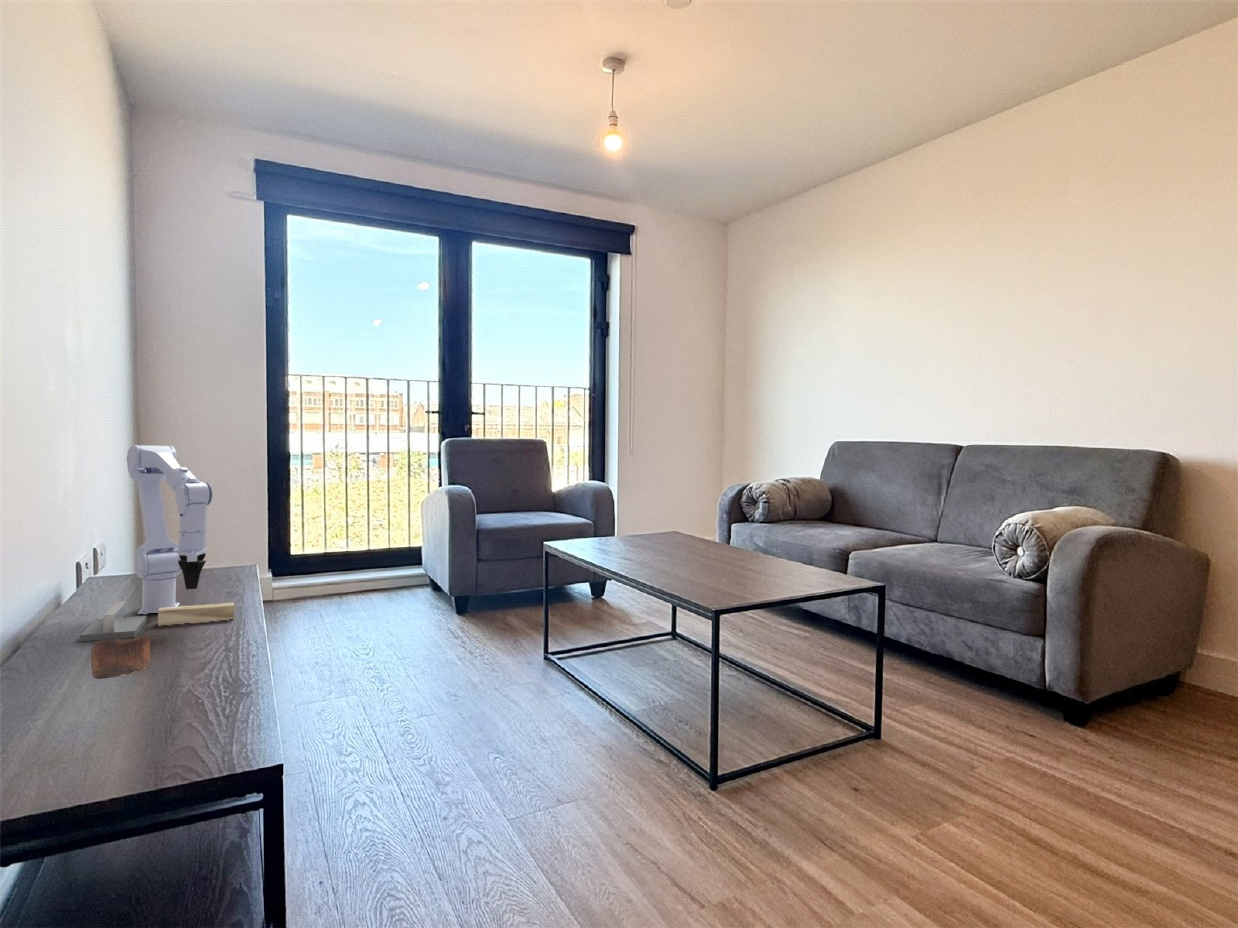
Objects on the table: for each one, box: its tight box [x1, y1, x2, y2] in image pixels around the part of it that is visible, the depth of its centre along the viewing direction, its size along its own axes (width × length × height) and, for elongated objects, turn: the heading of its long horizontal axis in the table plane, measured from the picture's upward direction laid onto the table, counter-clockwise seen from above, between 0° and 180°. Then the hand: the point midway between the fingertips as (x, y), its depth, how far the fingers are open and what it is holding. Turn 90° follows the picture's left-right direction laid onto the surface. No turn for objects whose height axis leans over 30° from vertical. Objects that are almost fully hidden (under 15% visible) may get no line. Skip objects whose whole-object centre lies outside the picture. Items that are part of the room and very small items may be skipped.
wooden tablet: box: [91, 635, 151, 679], centre depth 139 cm, size 26×2×10 cm
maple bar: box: [157, 602, 235, 626], centre depth 167 cm, size 3×16×4 cm, turn 121°
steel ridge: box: [102, 601, 128, 633], centre depth 156 cm, size 13×2×4 cm, turn 27°
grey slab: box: [79, 615, 147, 642], centre depth 156 cm, size 14×10×2 cm
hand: (191, 585), depth 165 cm, fingers open, 7 cm apart
